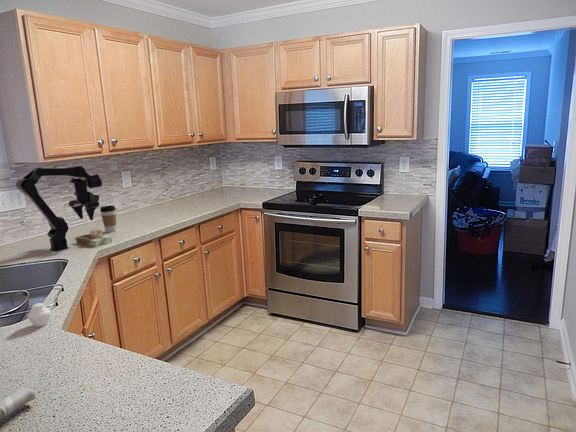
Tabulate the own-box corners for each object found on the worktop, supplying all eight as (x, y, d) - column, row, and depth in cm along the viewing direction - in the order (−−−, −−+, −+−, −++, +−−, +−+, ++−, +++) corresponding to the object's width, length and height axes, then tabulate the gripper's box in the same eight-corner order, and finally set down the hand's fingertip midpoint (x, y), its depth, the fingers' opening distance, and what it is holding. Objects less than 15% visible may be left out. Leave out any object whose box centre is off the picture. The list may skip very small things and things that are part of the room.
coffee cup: (102, 233, 246) (98, 208, 243) (104, 230, 254) (100, 205, 251) (118, 232, 249) (114, 206, 245) (119, 228, 257) (115, 204, 253)
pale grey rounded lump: (55, 319, 136) (51, 298, 135) (48, 327, 131) (44, 306, 129) (34, 321, 136) (30, 300, 134) (26, 330, 130) (21, 308, 128)
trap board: (96, 246, 219) (95, 241, 219) (76, 243, 229) (75, 237, 229) (112, 242, 227) (111, 236, 226) (92, 238, 237) (91, 233, 236)
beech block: (95, 239, 223) (94, 231, 222) (91, 238, 225) (89, 230, 224) (102, 237, 226) (101, 229, 225) (98, 236, 228) (97, 229, 228)
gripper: (105, 187, 225) (111, 217, 229) (85, 186, 236) (90, 214, 239) (86, 192, 217) (91, 222, 220) (65, 190, 227) (71, 219, 231)
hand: (86, 219), depth 228 cm, fingers open, 9 cm apart
